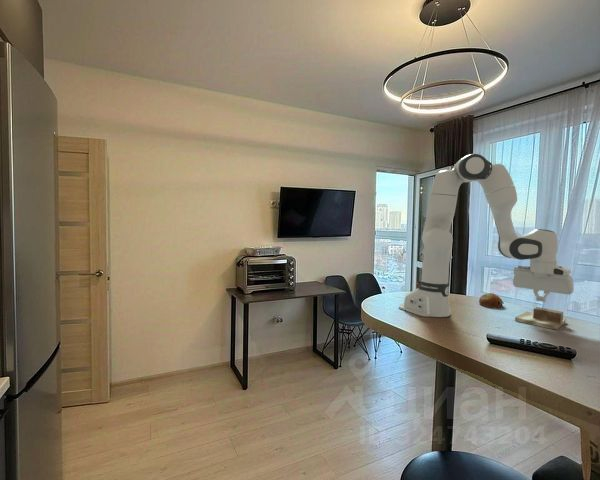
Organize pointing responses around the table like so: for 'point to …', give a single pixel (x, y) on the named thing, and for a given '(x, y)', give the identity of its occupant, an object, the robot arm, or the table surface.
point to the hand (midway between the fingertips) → (540, 301)
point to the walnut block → (548, 315)
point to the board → (538, 321)
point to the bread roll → (491, 300)
